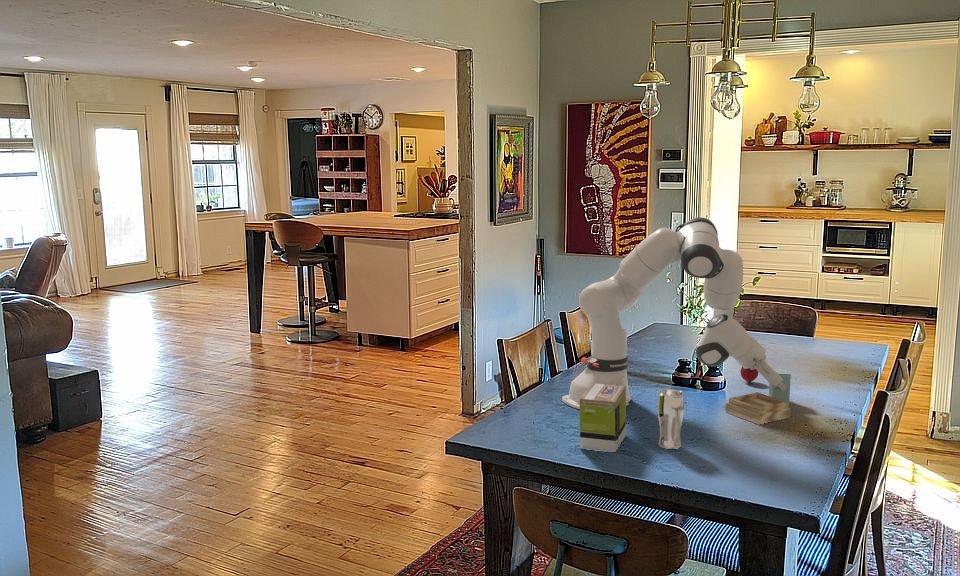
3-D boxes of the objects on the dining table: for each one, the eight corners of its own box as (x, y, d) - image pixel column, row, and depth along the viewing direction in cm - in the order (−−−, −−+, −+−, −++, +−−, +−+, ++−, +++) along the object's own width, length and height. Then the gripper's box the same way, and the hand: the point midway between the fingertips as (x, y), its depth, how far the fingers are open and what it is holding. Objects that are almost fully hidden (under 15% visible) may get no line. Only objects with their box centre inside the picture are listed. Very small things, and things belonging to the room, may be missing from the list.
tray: (758, 424, 229) (759, 410, 228) (725, 412, 240) (726, 398, 239) (790, 417, 235) (791, 402, 234) (756, 405, 246) (757, 391, 245)
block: (772, 404, 247) (774, 373, 245) (768, 399, 252) (770, 369, 250) (789, 404, 246) (790, 373, 245) (784, 399, 251) (786, 369, 250)
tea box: (591, 431, 225) (592, 381, 223) (626, 435, 222) (627, 385, 219) (578, 450, 212) (579, 397, 209) (615, 454, 208) (616, 401, 206)
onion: (758, 385, 267) (760, 362, 265) (741, 384, 268) (742, 362, 267) (756, 380, 272) (757, 358, 271) (739, 380, 274) (740, 357, 272)
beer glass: (651, 446, 214) (652, 393, 211) (665, 439, 218) (667, 387, 216) (673, 452, 209) (675, 398, 206) (687, 445, 213) (689, 392, 211)
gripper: (766, 356, 237) (798, 388, 237) (751, 340, 257) (780, 370, 257) (750, 370, 238) (782, 402, 239) (736, 353, 258) (766, 383, 259)
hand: (781, 385), depth 248 cm, fingers closed on block, 5 cm apart
